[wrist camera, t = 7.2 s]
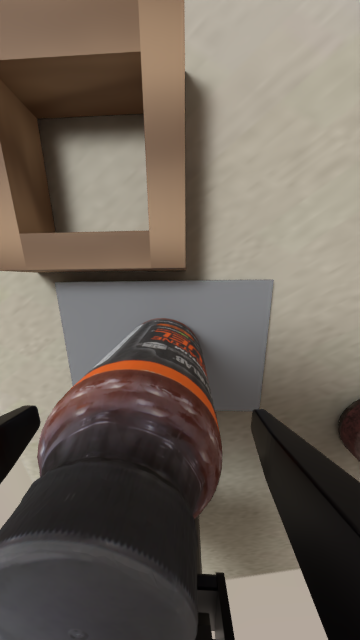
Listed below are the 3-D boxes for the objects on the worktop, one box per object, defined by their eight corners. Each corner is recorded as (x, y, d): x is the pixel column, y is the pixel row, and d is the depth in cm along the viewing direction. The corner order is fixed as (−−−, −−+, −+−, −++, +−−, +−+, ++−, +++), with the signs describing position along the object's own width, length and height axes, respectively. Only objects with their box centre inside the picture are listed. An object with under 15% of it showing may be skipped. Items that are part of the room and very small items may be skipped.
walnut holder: (185, 270, 13) (185, 267, 10) (36, 272, 13) (-6, 270, 10) (184, 69, 10) (184, -15, 7) (-1, 80, 11) (-71, 5, 8)
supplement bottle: (216, 340, 13) (357, 617, 2) (177, 396, 15) (153, 746, 4) (149, 300, 13) (-66, 426, 2) (114, 362, 14) (-134, 655, 3)
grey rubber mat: (256, 406, 15) (259, 411, 15) (80, 403, 16) (76, 408, 15) (269, 279, 13) (273, 279, 12) (60, 282, 13) (54, 282, 13)
